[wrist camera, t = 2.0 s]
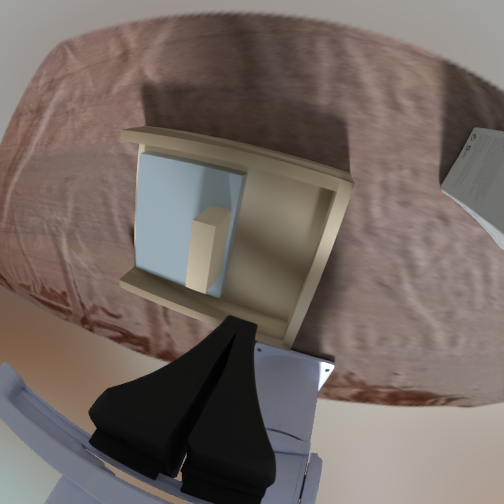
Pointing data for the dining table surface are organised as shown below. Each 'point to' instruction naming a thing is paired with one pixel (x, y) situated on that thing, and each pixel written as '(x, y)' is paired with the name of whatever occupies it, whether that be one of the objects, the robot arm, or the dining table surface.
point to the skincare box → (480, 180)
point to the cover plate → (187, 220)
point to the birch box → (256, 234)
